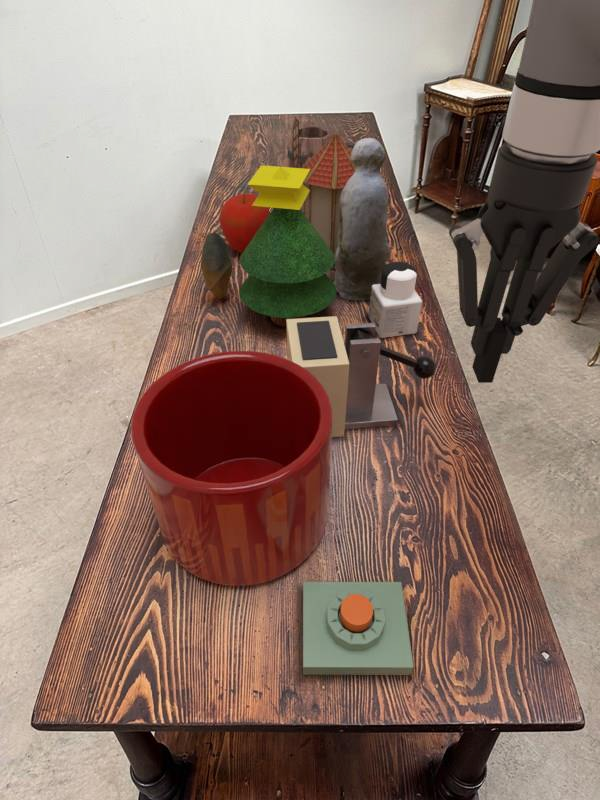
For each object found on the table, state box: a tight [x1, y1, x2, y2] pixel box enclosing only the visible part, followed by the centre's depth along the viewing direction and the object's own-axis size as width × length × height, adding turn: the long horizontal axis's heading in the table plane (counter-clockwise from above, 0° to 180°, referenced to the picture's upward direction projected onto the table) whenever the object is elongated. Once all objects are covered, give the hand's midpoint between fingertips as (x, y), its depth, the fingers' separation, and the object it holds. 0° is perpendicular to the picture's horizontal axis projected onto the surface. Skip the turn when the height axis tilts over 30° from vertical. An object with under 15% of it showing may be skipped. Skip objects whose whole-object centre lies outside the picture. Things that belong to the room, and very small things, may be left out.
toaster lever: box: [349, 330, 437, 380], centre depth 84 cm, size 15×4×4 cm, turn 96°
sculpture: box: [333, 137, 391, 302], centre depth 109 cm, size 11×14×30 cm
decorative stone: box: [200, 232, 233, 301], centre depth 111 cm, size 10×6×15 cm, turn 173°
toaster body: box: [286, 315, 349, 438], centre depth 85 cm, size 8×12×15 cm, turn 6°
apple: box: [218, 192, 271, 254], centre depth 127 cm, size 12×12×14 cm
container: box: [368, 261, 423, 339], centre depth 104 cm, size 8×8×13 cm
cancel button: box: [340, 594, 373, 632], centre depth 60 cm, size 4×4×2 cm
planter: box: [130, 350, 333, 587], centre depth 69 cm, size 23×23×20 cm
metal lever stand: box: [344, 322, 399, 430], centre depth 85 cm, size 12×9×16 cm
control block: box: [302, 581, 414, 676], centre depth 62 cm, size 12×10×4 cm
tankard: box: [287, 125, 356, 214], centre depth 142 cm, size 24×17×20 cm
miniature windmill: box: [292, 117, 355, 271], centre depth 121 cm, size 24×20×30 cm
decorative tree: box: [239, 165, 337, 328], centre depth 101 cm, size 19×19×30 cm
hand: (482, 374), depth 59 cm, fingers closed
